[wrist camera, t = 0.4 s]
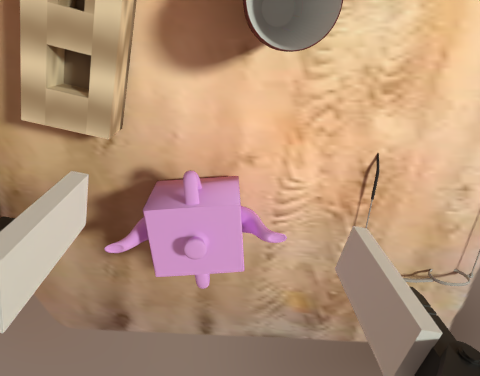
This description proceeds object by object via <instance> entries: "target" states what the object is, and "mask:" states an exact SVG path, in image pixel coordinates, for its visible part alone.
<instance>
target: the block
mask: <svg viewBox="0 0 480 376" xmlns="http://www.w3.org/2000/svg"><path fill="white" fill-rule="evenodd" d="M135 8H136V0H20V56H21V120H24V121H28V122H33V123H37V124H42V125H46V126H51V127H55V128H60V129H64V130H69V131H73V132H77V133H82V134H86V135H91V136H95V137H100V138H104V139H110V138H111V137H112V136H114V135H115V134H116V133H117V132H118V131H120V130H121V129H122V125H123V116H124V107H125V98H126V89H127V80H128V71H129V62H130V53H131V44H132V35H133V26H134V17H135Z"/></svg>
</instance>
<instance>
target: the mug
mask: <svg viewBox="0 0 480 376" xmlns="http://www.w3.org/2000/svg"><path fill="white" fill-rule="evenodd" d="M342 3H343V0H243V5H244V13H245V17H246V20H247V23H248V25H249V27H250V29H251V31H252V32H253V33H254V35H255V36H256V37H257V38H258V39H259V40H260V41H261V42H262V43H264V44H265V45H267V46H268V47H270V48H273V49H276V50H280V51H289V52H292V51H300V50H304V49H307V48H309V47H311V46H313V45H315V44H317V43H318V42H320V41H321V40H322V39H323V38H324V37H325V36H326V35H327V34H328V33H329V32H330V31H331V29H332V28H333V26H334V25H335V23H336V21H337V19H338V17H339V14H340V11H341V8H342Z"/></svg>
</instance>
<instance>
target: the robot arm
mask: <svg viewBox="0 0 480 376" xmlns="http://www.w3.org/2000/svg"><path fill="white" fill-rule="evenodd" d="M87 193H88V174H84V173H79V172H74V171H71V172H70V173H68V174H67V175H66V176H65V177H64V178H62V179H61V180H60V181H59V182H58V183H57V184H55V185H54V186H53V187H52V188H51V189H50V190H48V191H47V192H46V193H45V194H44V195H43V196H41V197H40V198H39V199H38V200H37V201H36V202H34V203H33V204H32V205H31V206H30V207H29V208H27V209H26V210H25V211H24V212H23V213H21V214H20V215H19V216H18V217H17V218H16V219H15V218H9V217H1V218H0V333H4V332H5V330H6V329H7V328H8V326H9V325H10V324H11V322H12V321H13V320H14V319H15V317H16V316H17V315H18V313H19V312H20V310H21V309H22V308H23V307H24V305H25V304H26V303H27V301H28V300H29V299H30V298H31V296H32V295H33V294H34V292H35V291H36V290H37V288H38V287H39V286H40V284H41V283H42V282H43V280H44V279H45V278H46V276H47V275H48V274H49V273H50V271H51V270H52V269H53V267H54V266H55V265H56V263H57V262H58V261H59V259H60V258H61V257H62V255H63V254H64V253H65V251H66V250H67V249H68V248H69V246H70V245H71V244H72V242H73V241H74V240H75V238H76V237H77V236H78V234H79V233H80V232H81V230H82V229H83V228H84V226H85V225H86V211H87ZM335 270H336V272H337V275H338V277H339V279H340V281H341V283H342V286H343V288H344V290H345V292H346V294H347V296H348V299H349V301H350V303H351V305H352V307H353V310H354V312H355V314H356V316H357V318H358V321H359V323H360V325H361V327H362V329H363V331H364V334H365V336H366V338H367V340H368V342H369V344H370V346H371V349H372V351H373V353H374V355H375V358H376V360H377V362H378V364H379V366H380V369H381V371H382V373H383V375H384V376H480V352H479V351H477V350H476V349H474V348H473V347H471V346H469V345H468V344H466V343H463V342H459V341H456V339H455V338H454V336H453V335H452V334H451V332H450V331H449V330H448V328H447V327H446V326H445V324H444V323H443V322H442V320H441V319H440V318H439V316H437V315H436V312H435V311H434V310H433V308H431V307H430V304H429V303H428V302H427V300H426V299H425V298H424V296H422V295H421V294H420V293H419V292H418V291H417V290H415V289H414V288H413V287H409V286H408V284H407V283H406V282H405V280H404V279H403V278H402V276H401V275H400V273H399V272H398V271H397V269H396V268H395V266H394V265H393V264H392V262H391V261H390V260H389V258H388V257H387V255H386V254H385V253H384V251H383V250H382V248H381V247H380V246H379V244H378V243H377V241H376V240H375V239H374V237H373V236H372V235H371V233H370V232H369V230H368V229H367V228H361V227H356V226H353V228H352V230H351V232H350V235H349V237H348V239H347V242H346V244H345V246H344V249H343V251H342V253H341V256H340V258H339V260H338V263H337V265H336V267H335Z"/></svg>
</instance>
